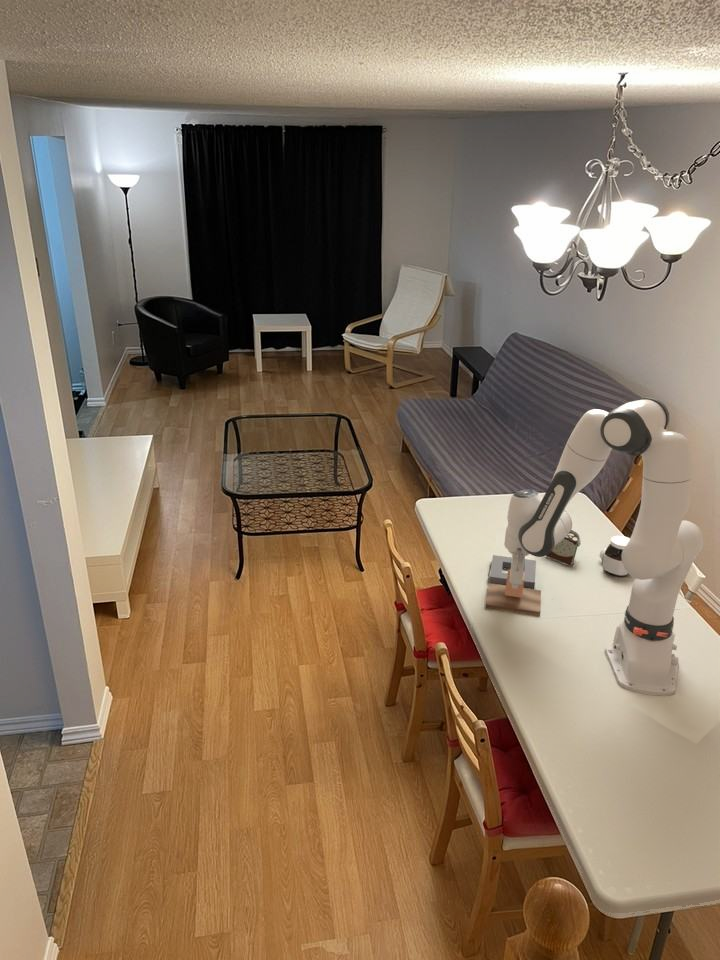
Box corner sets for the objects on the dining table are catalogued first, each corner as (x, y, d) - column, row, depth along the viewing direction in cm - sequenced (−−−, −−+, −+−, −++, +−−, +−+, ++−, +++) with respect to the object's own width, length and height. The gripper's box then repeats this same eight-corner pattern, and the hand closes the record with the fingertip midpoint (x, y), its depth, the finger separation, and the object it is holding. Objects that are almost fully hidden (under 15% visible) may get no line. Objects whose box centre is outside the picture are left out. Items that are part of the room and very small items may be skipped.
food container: (584, 561, 246) (588, 534, 242) (575, 568, 242) (579, 541, 238) (551, 548, 254) (554, 522, 250) (542, 555, 250) (545, 528, 246)
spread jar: (618, 582, 235) (624, 550, 230) (587, 568, 242) (592, 537, 238) (638, 569, 242) (644, 538, 237) (607, 556, 250) (613, 525, 245)
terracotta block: (521, 597, 220) (524, 580, 217) (505, 595, 221) (506, 578, 218) (522, 588, 224) (524, 571, 222) (506, 586, 225) (507, 569, 223)
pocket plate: (534, 589, 230) (535, 582, 229) (489, 583, 233) (489, 576, 232) (535, 567, 242) (536, 560, 241) (492, 561, 245) (492, 555, 244)
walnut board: (539, 616, 217) (540, 611, 216) (485, 608, 220) (485, 604, 219) (540, 594, 227) (541, 590, 227) (488, 587, 231) (488, 583, 230)
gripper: (530, 560, 205) (524, 602, 211) (532, 527, 224) (527, 566, 229) (507, 557, 207) (502, 598, 212) (511, 524, 225) (506, 563, 231)
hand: (515, 581), depth 221 cm, fingers closed on terracotta block, 5 cm apart
